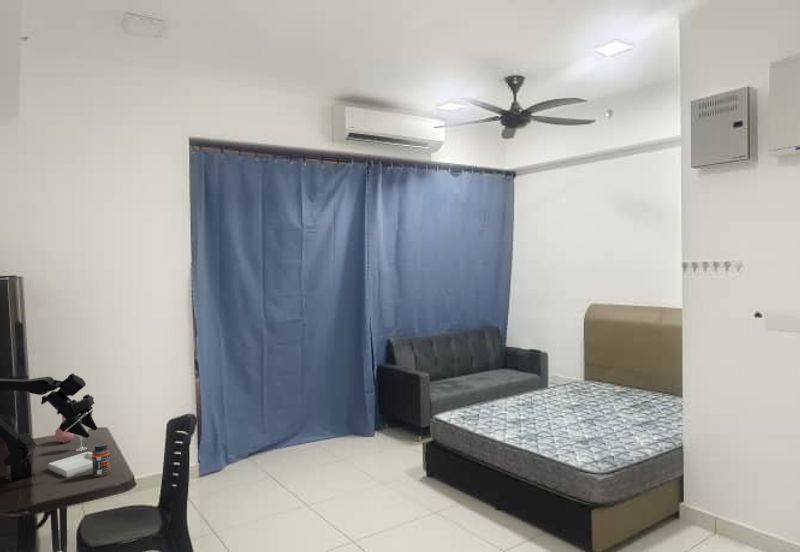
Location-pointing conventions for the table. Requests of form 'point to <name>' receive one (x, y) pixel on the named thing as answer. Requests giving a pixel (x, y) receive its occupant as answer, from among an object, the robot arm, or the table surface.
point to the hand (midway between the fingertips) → (92, 433)
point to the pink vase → (63, 434)
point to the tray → (72, 465)
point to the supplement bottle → (101, 460)
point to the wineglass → (81, 440)
